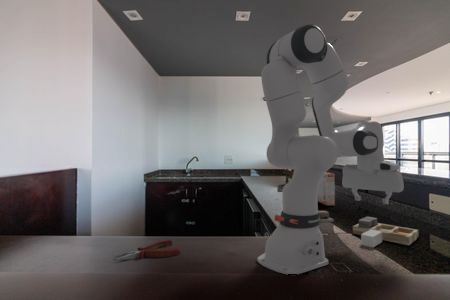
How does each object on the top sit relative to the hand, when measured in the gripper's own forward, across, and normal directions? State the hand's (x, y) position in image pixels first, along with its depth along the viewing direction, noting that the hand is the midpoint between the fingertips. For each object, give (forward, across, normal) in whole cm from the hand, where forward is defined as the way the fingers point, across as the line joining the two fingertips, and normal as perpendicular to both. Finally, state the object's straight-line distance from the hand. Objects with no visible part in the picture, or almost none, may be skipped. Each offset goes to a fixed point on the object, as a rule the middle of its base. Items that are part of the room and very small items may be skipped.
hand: (371, 202), depth 95 cm
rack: (+15, 0, +13) cm, 20 cm away
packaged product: (+16, -33, +15) cm, 40 cm away
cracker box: (+16, -49, +61) cm, 80 cm away
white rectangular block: (+15, 0, 0) cm, 15 cm away
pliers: (+15, -47, -66) cm, 82 cm away
